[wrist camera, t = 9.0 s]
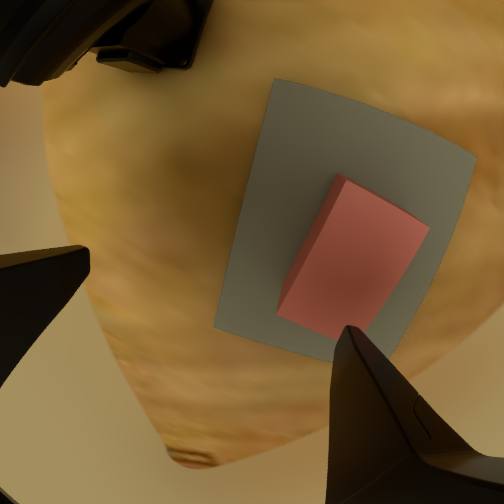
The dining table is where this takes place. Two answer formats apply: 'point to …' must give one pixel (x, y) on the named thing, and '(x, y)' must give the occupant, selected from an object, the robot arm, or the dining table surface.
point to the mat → (313, 196)
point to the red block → (349, 260)
